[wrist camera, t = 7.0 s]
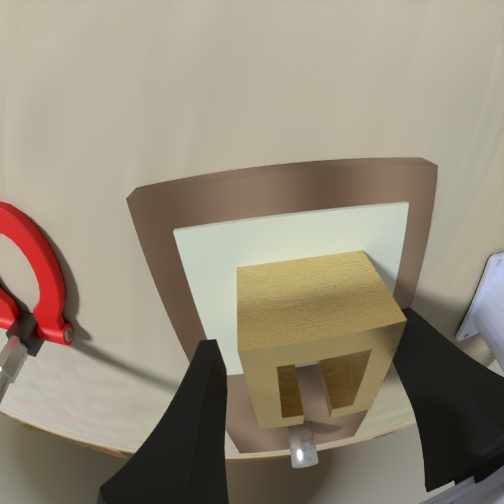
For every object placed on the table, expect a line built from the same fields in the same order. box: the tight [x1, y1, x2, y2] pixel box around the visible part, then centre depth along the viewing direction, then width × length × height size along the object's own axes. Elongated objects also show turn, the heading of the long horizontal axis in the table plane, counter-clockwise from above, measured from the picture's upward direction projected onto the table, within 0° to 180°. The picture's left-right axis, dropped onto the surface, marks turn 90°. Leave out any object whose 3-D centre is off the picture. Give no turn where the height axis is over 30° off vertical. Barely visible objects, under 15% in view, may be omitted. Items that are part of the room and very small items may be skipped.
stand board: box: [126, 158, 438, 453], centre depth 17 cm, size 12×27×1 cm, turn 7°
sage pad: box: [173, 202, 409, 375], centre depth 12 cm, size 9×9×1 cm
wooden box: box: [237, 250, 407, 429], centre depth 10 cm, size 5×6×4 cm
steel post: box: [287, 420, 318, 468], centre depth 18 cm, size 2×2×4 cm
